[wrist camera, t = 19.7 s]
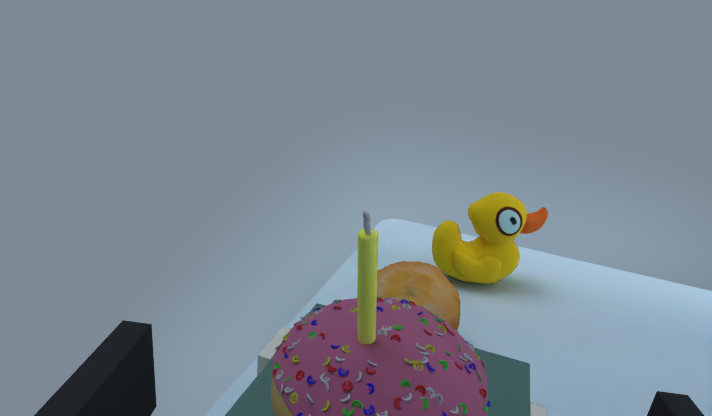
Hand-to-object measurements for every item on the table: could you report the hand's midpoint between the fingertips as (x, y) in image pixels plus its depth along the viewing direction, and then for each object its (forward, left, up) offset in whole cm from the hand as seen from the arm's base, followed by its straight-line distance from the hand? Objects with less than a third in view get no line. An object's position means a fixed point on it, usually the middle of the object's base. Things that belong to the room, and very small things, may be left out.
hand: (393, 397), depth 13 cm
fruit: (-19, -14, -15) cm, 28 cm away
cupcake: (-4, -4, -8) cm, 10 cm away
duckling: (-34, -18, -15) cm, 41 cm away
